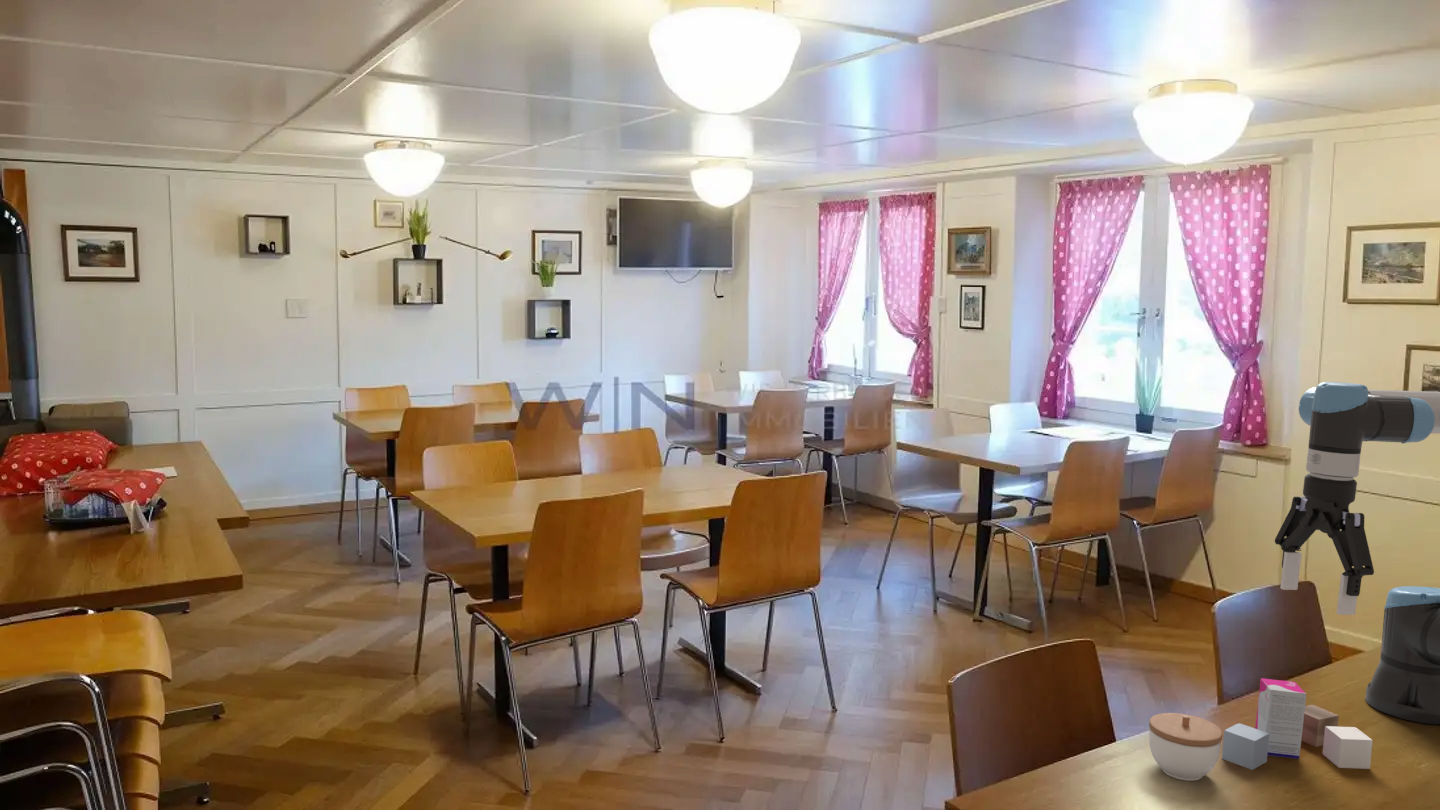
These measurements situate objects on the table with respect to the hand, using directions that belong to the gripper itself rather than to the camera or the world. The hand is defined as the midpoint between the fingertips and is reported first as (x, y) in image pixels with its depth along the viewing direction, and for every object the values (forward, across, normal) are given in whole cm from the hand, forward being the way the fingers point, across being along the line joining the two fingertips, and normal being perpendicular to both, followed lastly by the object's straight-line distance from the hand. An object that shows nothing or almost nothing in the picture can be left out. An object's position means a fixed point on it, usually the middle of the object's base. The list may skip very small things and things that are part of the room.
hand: (1316, 601), depth 176 cm
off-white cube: (+26, +5, +5) cm, 27 cm away
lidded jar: (+27, +6, -25) cm, 37 cm away
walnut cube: (+26, -4, +5) cm, 27 cm away
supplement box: (+26, 0, -4) cm, 27 cm away
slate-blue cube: (+26, +3, -12) cm, 29 cm away
